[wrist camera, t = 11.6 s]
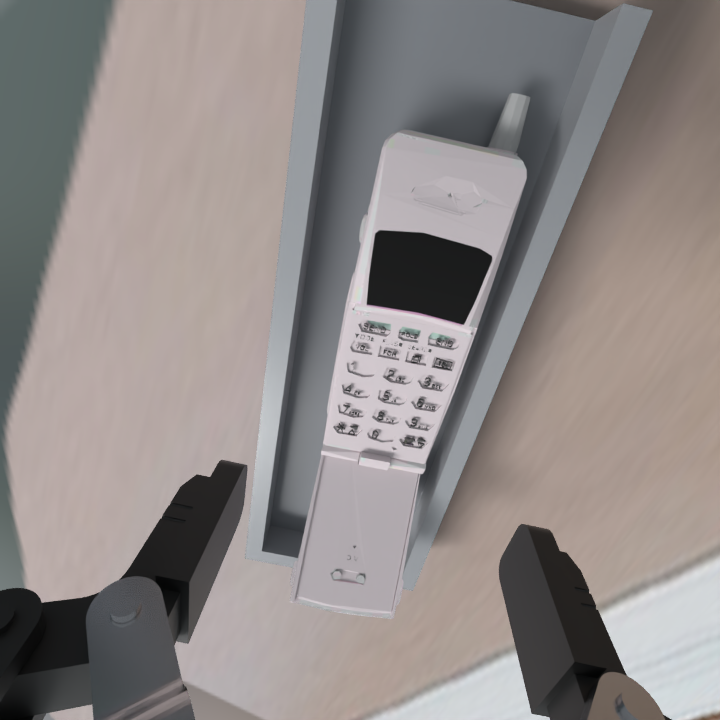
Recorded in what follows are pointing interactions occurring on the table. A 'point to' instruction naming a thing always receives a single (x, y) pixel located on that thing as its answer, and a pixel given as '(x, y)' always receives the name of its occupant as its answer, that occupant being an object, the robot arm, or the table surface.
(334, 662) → the table surface
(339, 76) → the phone dock
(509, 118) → the mobile phone
